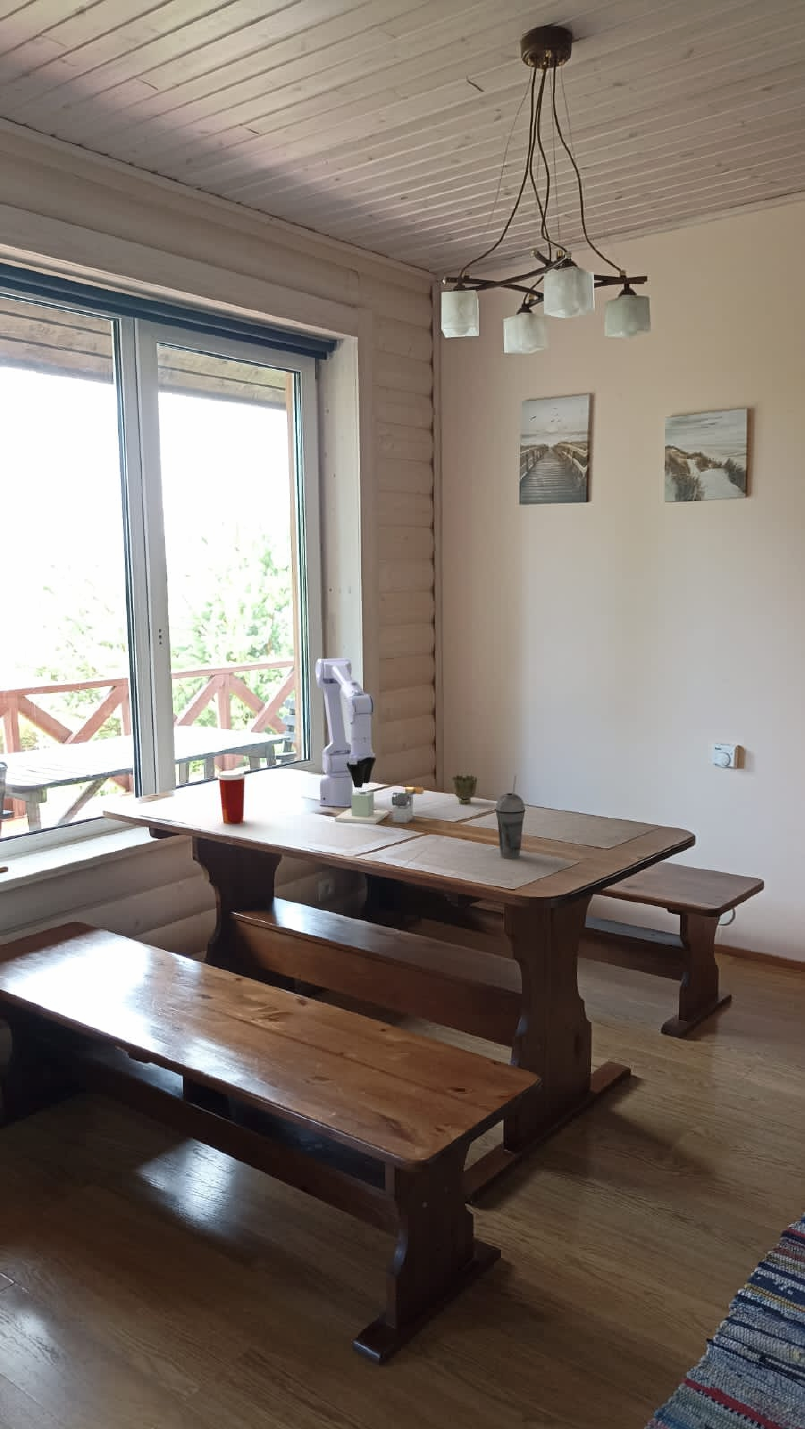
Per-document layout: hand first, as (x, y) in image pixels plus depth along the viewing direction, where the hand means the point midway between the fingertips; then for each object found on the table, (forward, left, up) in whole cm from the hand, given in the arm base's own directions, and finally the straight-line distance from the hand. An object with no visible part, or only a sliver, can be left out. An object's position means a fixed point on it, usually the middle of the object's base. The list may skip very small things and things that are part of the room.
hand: (361, 785), depth 284 cm
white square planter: (+12, 0, -9) cm, 15 cm away
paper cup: (-34, -13, -10) cm, 38 cm away
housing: (0, 0, -8) cm, 8 cm away
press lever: (+12, +4, -5) cm, 14 cm away
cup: (+24, +25, -10) cm, 36 cm away
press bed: (0, 0, -9) cm, 9 cm away
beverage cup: (+48, -29, -10) cm, 57 cm away
